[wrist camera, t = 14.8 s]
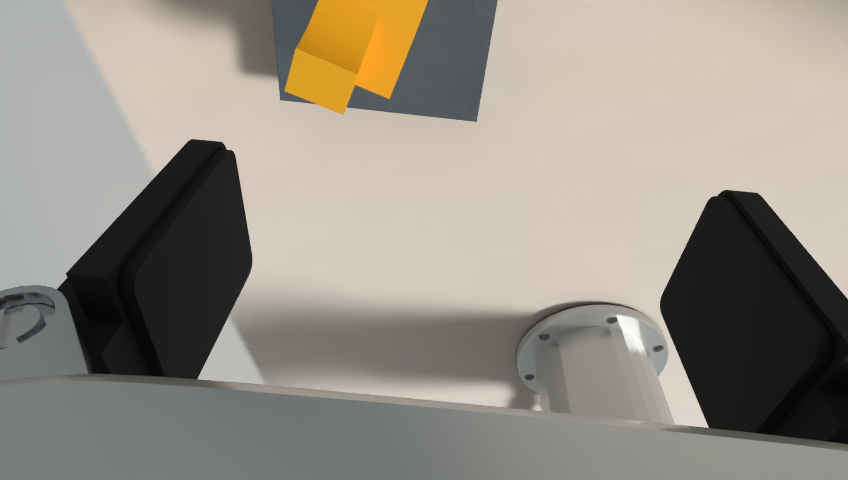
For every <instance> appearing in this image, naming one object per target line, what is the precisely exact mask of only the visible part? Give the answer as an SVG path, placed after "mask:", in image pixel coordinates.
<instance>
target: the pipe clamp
mask: <svg viewBox="0 0 848 480" xmlns="http://www.w3.org/2000/svg"><path fill="white" fill-rule="evenodd" d="M427 2H428V0H318V3H317V5H316V8H315V10H314V13H313V15H312V17H311V20H310V22H309V24H308V26H307V29H306V31H305V33H304V35H303V37H302V39H301V40H300V42H299V44H298V45H297V47H296V49H295V53H294V56H293V60H292V64H291V68H290V72H289V76H288V80H287V83H286V87H285V92H288V93H290V94H293V95H295V96H298V97H300V98H303V99H305V100H308V101H310V102H313V103H315V104H318V105H320V106H323V107H325V108H328V109H330V110H333V111H335V112H338V113H340V114H344V112H345V109H346V107H347V104H348V102H349V99H350V97H351V94H352V91H353V89H354V86H355V85H357V86H359V87H361V88H364V89H366V90H369V91H371V92H374V93H376V94H378V95H381V96H383V97H386V98H388V99H390V96H391V94H392V91H393V89H394V86H395V84H396V81H397V79H398V76H399V74H400V72H401V69H402V67H403V64H404V62H405V59H406V57H407V54H408V52H409V49H410V47H411V44H412V42H413V39H414V37H415V34H416V32H417V29H418V26H419V24H420V21H421V18H422V15H423V13H424V10H425V7H426V5H427Z"/></svg>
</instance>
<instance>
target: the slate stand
mask: <svg viewBox="0 0 848 480" xmlns="http://www.w3.org/2000/svg"><path fill="white" fill-rule="evenodd" d="M317 3H318V0H272V9H273V21H274V32H275V44H276V55H277V67H278V79H279V90H280V100H285V101H294V102H303V103H312V104H315V103H313V102H310V101H308V100H305V99H303V98H300V97H298V96H295V95H293V94H290V93H288V92H285V87H286V83H287V80H288V76H289V72H290V68H291V64H292V60H293V56H294V53H295V49H296V47H297V45H298V44H299V42H300V40H301V39H302V37H303V35H304V33H305V31H306V29H307V26H308V24H309V22H310V20H311V17H312V15H313V13H314V10H315V8H316V5H317ZM496 6H497V0H428V2H427V5H426V7H425V10H424V13H423V15H422V18H421V21H420V24H419V26H418V29H417V32H416V34H415V37H414V39H413V42H412V44H411V47H410V49H409V52H408V54H407V57H406V59H405V62H404V64H403V67H402V69H401V72H400V74H399V76H398V79H397V81H396V84H395V86H394V89H393V91H392V94H391V96H390V99H388V98H386V97H383V96H381V95H378V94H376V93H374V92H371V91H369V90H366V89H364V88H361V87H359V86H357V85H355V86H354V89H353V91H352V94H351V97H350V99H349V102H348V104H347V107H348V108H357V109H366V110H375V111H384V112H393V113H403V114H412V115H421V116H430V117H439V118H448V119H457V120H466V121H475V122H477V116H478V110H479V104H480V99H481V93H482V87H483V81H484V75H485V69H486V64H487V58H488V52H489V46H490V40H491V35H492V29H493V23H494V17H495V11H496Z"/></svg>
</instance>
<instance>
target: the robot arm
mask: <svg viewBox="0 0 848 480" xmlns="http://www.w3.org/2000/svg"><path fill="white" fill-rule="evenodd" d="M251 268H252V252H251V246H250V240H249V234H248V228H247V222H246V216H245V210H244V204H243V198H242V192H241V187H240V181H239V175H238V169H237V163H236V157H235V154H234V152H233V151H232V150H226V147H225V145H224V144H223V143H222V142H216V141H206V140H195V139H191V140H190V141H188V142H187V143H186V144H185V145H184V147H183V148H182V149H181V150H180V151H179V152H178V153H177V154H176V155H175V156H174V157H173V158H172V159H171V161H170V162H169V163H168V164H167V165H166V166H165V167H164V168H163V169H162V170H161V171H160V172H159V174H158V175H157V176H156V177H155V178H154V179H153V180H152V181H151V182H150V183H149V184H148V185H147V187H146V188H145V189H144V190H143V191H142V192H141V193H140V194H139V195H138V196H137V197H136V199H135V200H134V201H133V202H132V203H131V204H130V205H129V206H128V207H127V208H126V209H125V210H124V211H123V213H122V214H121V215H120V216H119V217H118V218H117V219H116V220H115V221H114V222H113V223H112V224H111V226H110V227H109V228H108V229H107V230H106V231H105V232H104V233H103V234H102V235H101V236H100V237H99V238H98V240H97V241H96V242H95V243H94V244H93V245H92V246H91V247H90V248H89V249H88V250H87V251H86V253H85V254H84V255H83V256H82V257H81V258H80V259H79V260H78V261H77V262H76V263H75V264H74V265H73V267H72V268H71V269H70V270H69V271H68V272H67V273H66V275H67V277H68V278H67V279H66V280H65V281H64V282H63V283H62V284H61V285H60V286H59V288H58V289H57V290H56V289H54V288H52V287H46V286H40V285H32V286H20V287H15V288H11V289H6V290H3V291H0V480H848V299H847V298H846V297H845V295H844V294H843V293H842V292H841V291H840V290H839V288H838V287H837V286H836V285H835V284H834V282H833V281H832V280H831V279H830V278H829V276H828V275H827V274H826V273H825V272H824V270H823V269H822V268H821V267H820V266H819V264H818V263H817V262H816V261H815V260H814V259H813V257H812V256H811V255H810V254H809V253H808V251H807V250H806V249H805V248H804V247H803V245H802V244H801V243H800V242H799V241H798V239H797V238H796V237H795V236H794V235H793V233H792V232H791V231H790V230H789V229H788V228H787V226H786V225H785V224H784V223H783V222H782V220H781V219H780V218H779V217H778V216H777V214H776V213H775V212H774V211H773V210H772V208H771V207H770V206H769V205H768V204H767V202H766V201H765V200H764V199H763V198H762V197H761V196H760V195H759V194H758V193H752V192H742V191H731V190H725V191H722V192H721V193H720V194H719V195H718V196H714V197H711V198H710V199H709V201H708V202H707V204H706V206H705V208H704V210H703V212H702V214H701V216H700V218H699V220H698V222H697V224H696V226H695V228H694V230H693V232H692V235H691V237H690V239H689V241H688V243H687V245H686V247H685V249H684V251H683V253H682V255H681V257H680V259H679V261H678V263H677V265H676V267H675V269H674V271H673V273H672V276H671V278H670V280H669V282H668V284H667V286H666V288H665V290H664V292H663V294H662V297H661V301H660V310H661V314H662V316H663V319H664V321H665V323H666V326H667V328H668V331H669V333H670V335H671V338H672V340H673V343H674V345H675V347H676V350H677V352H678V355H679V357H680V359H681V362H682V364H683V367H684V369H685V371H686V374H687V376H688V379H689V381H690V383H691V386H692V388H693V390H694V393H695V395H696V398H697V400H698V402H699V405H700V407H701V410H702V412H703V414H704V417H705V419H706V422H707V424H708V426H709V428H703V427H693V426H683V425H675V423H674V420H673V417H672V415H671V412H670V409H669V406H668V404H667V401H666V398H665V395H664V392H663V390H662V387H661V384H660V381H659V379H658V376H659V375H660V373H661V372H662V371H663V369H664V367H665V365H666V363H667V360H668V354H669V351H668V345H667V341H666V339H665V337H664V334H663V332H662V330H661V329H660V328H659V326H658V325H657V323H655V322H654V321H653V320H652V319H650V318H649V317H648V316H646V315H644V314H642V313H640V312H638V311H636V310H632V309H629V308H626V307H621V306H614V305H587V306H580V307H575V308H571V309H567V310H563V311H561V312H558V313H556V314H554V315H551V316H549V317H547V318H546V319H544V320H542V321H541V322H539V323H537V324H536V325H535V326H534V327H533V328H531V329H530V330H529V331H528V332H527V334H526V335H525V336H524V337H523V339H522V340H521V342H520V344H519V347H518V350H517V356H516V357H517V368H518V372H519V375H520V377H521V379H522V381H523V382H524V384H525V385H526V386H527V387H528V388H530V389H531V390H532V391H533V392H535V393H537V394H538V395H540V402H541V409H542V411H535V410H525V409H515V408H504V407H494V406H484V405H473V404H463V403H453V402H442V401H432V400H422V399H411V398H401V397H390V396H379V395H368V394H357V393H347V392H336V391H325V390H314V389H303V388H292V387H281V386H270V385H260V384H248V383H235V382H222V381H209V380H197V378H198V376H199V374H200V372H201V370H202V368H203V366H204V364H205V362H206V360H207V358H208V356H209V354H210V352H211V350H212V348H213V346H214V344H215V342H216V340H217V338H218V336H219V334H220V332H221V330H222V328H223V326H224V324H225V322H226V320H227V318H228V316H229V314H230V312H231V310H232V308H233V306H234V304H235V302H236V300H237V298H238V296H239V294H240V292H241V290H242V288H243V286H244V284H245V282H246V280H247V278H248V276H249V274H250V271H251Z"/></svg>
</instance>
